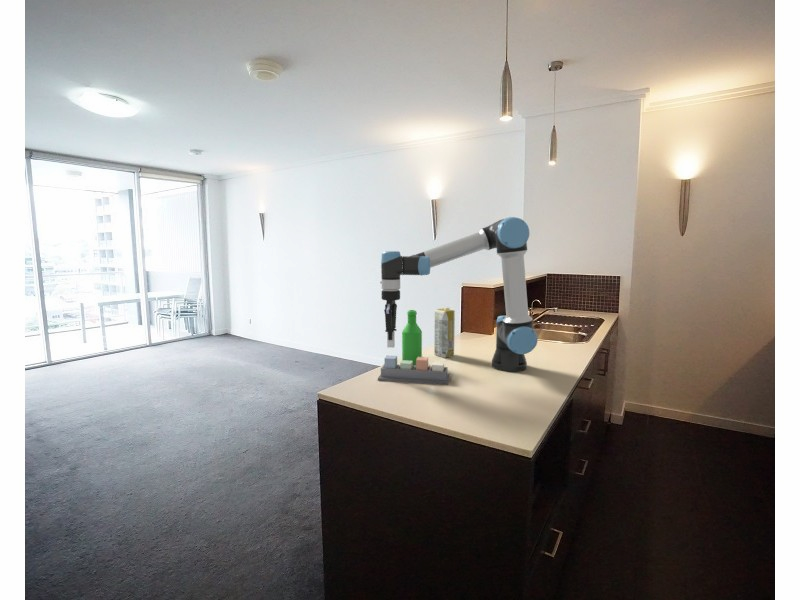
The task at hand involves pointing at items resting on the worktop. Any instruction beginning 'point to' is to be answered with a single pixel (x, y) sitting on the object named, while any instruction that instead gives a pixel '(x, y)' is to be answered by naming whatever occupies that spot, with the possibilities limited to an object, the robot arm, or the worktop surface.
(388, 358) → the key slate
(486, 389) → the worktop surface
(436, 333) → the juice carton
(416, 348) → the bottle
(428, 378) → the keypad
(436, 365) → the key cream
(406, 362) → the key sage
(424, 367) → the key terracotta
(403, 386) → the worktop surface
